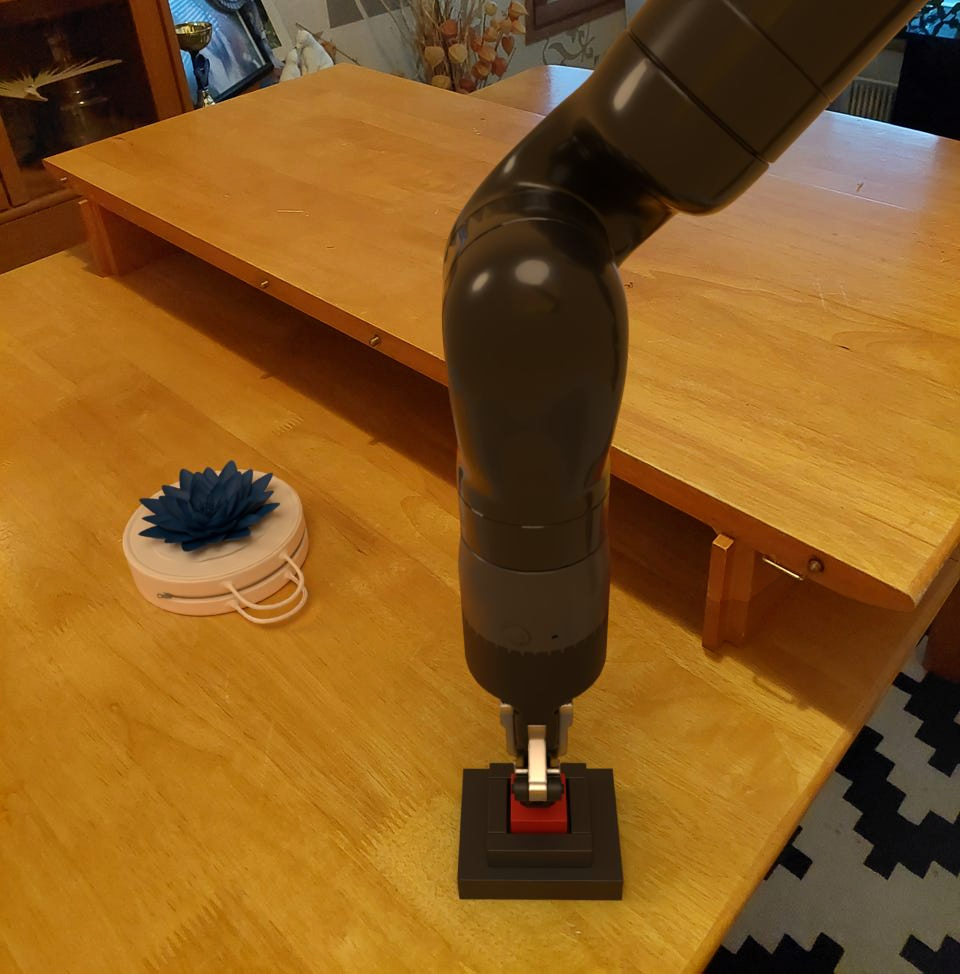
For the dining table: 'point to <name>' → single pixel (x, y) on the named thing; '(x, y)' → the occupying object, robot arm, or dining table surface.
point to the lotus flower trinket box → (218, 543)
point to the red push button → (539, 840)
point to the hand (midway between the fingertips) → (537, 795)
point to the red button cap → (539, 816)
